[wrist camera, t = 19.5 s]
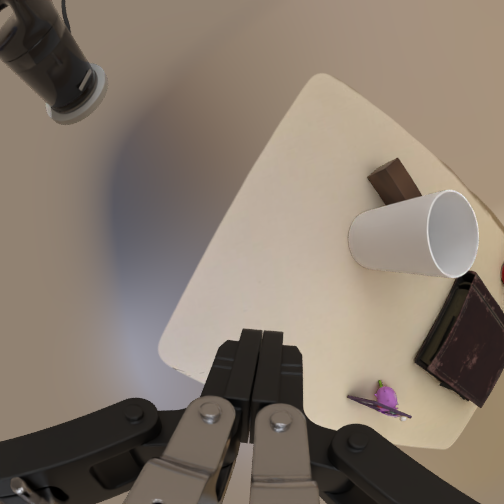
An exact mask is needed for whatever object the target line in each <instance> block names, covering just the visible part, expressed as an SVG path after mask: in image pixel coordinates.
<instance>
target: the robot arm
mask: <svg viewBox="0 0 504 504" xmlns="http://www.w3.org/2000/svg"><path fill="white" fill-rule="evenodd" d="M7 6H10V7H11V8H12V10H13V14H12V15H11V16H10V17H9V18H8V19H7V21H6V22H5V23H4V25H3V26H2V27H1V29H0V59H1V60H2V61H3V62H4V63H5V64H6V65H7V66H8V67H9V68H10V69H11V70H12V71H13V72H14V73H15V74H16V75H18V76H19V77H20V78H21V79H22V80H23V81H24V82H25V83H26V84H27V85H28V86H29V87H30V88H31V89H32V90H33V91H34V92H35V93H37V94H38V95H39V96H40V97H41V98H42V99H43V100H44V101H45V102H46V103H47V104H48V105H49V106H51V108H52V109H53V110H54V111H55V112H56V113H59V114H68V113H71V112H74V111H76V110H77V109H79V108H80V107H82V106H83V105H84V104H85V103H86V102H87V101H88V100H89V99H90V98H91V97H92V95H93V94H94V92H95V90H96V88H97V84H98V76H97V74H96V72H95V70H94V69H93V68H92V67H91V65H90V64H89V62H88V60H87V59H86V57H85V56H84V54H83V52H82V51H81V49H80V48H79V46H78V44H77V43H76V41H75V40H74V38H73V36H72V35H71V31H70V25H69V21H68V18H67V14H66V7H65V0H62V14H63V19H64V22H63V20H62V19H61V17H60V15H59V14H58V12H57V10H56V8H55V7H54V5H53V2H52V0H0V12H1V11H2V10H3V9H5V8H6V7H7ZM302 365H303V364H302V354H301V353H300V351H299V349H298V348H297V346H287V345H283V332H278V331H266V330H264V333H263V338H262V330H254V329H243V330H242V333H241V336H240V340H239V341H232V340H227V341H226V342H225V343H224V344H222V345H221V346H220V347H219V349H218V351H217V354H216V356H215V359H214V362H213V364H212V367H211V370H210V372H209V375H208V378H207V380H206V383H205V385H204V388H203V391H202V393H201V396H200V398H197V399H195V400H194V401H192V402H191V403H190V404H189V405H188V407H187V408H185V409H181V410H170V411H157V408H156V407H155V405H153V403H151V402H150V401H148V400H145V399H142V398H130V399H126V400H123V401H121V402H119V403H116V404H113V405H111V406H108V407H106V408H103V409H101V410H98V411H96V412H93V413H90V414H87V415H85V416H82V417H79V418H77V419H74V420H71V421H68V422H65V423H62V424H59V425H57V426H53V427H50V428H47V429H44V430H40V431H37V432H34V433H31V434H27V435H24V436H20V437H16V438H13V439H9V440H5V441H1V442H0V504H96V503H99V502H102V501H104V500H107V499H110V498H112V497H115V496H117V495H120V494H122V493H124V492H127V491H129V490H130V492H129V493H128V495H127V497H126V499H125V501H124V502H123V504H222V502H223V499H224V496H225V493H226V490H227V487H228V484H229V481H230V478H231V475H232V472H233V469H234V466H235V463H236V458H237V455H238V451H239V446H240V442H242V443H247V442H248V437H249V432H250V443H251V444H254V447H253V460H252V474H251V488H250V503H249V504H320V500H319V496H320V497H321V498H322V499H323V500H324V501H325V502H326V503H327V504H480V503H478V502H477V501H475V500H474V499H472V498H470V497H469V496H467V495H465V494H464V493H462V492H461V491H459V490H457V489H456V488H455V487H453V486H452V485H450V484H448V483H447V482H445V481H444V480H442V479H441V478H439V477H438V476H437V475H435V474H434V473H432V472H431V471H429V470H428V469H426V468H425V467H424V466H422V465H421V464H419V463H418V462H417V461H415V460H414V459H412V458H411V457H409V456H408V455H407V454H405V453H404V452H403V451H401V450H400V449H399V448H397V447H396V446H395V445H393V444H392V443H391V442H389V441H388V440H387V439H385V438H384V437H383V436H381V435H380V434H379V433H378V432H376V431H375V430H374V429H372V428H371V427H368V426H366V425H362V424H350V425H346V426H343V427H342V428H340V429H339V430H337V431H336V430H332V429H328V428H324V427H321V426H319V425H316V424H315V423H313V422H312V421H311V420H309V419H308V417H307V416H306V415H305V413H304V410H303V367H302Z"/></svg>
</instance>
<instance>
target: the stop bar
mask: <svg viewBox="0 0 504 504" xmlns="http://www.w3.org/2000/svg"><path fill="white" fill-rule="evenodd" d="M367 178H368V179H369V181H370V182H371V183H372V185H373V186H374V188H375V189H376V191H377V192H378V194H379V195H380V197H381V198H382V200H383V201H384V203H385V204H386V206H387V205H390V204H394V203H398V202H402V201H405V200H409V199H413V198H417V197H420V196H422V195H421V193H420V191H419V190H418V188H417V186H416V185H415V183H414V182H413V180H412V178H411V177H410V175H409V174H408V172H407V171H406V169H405V168H404V166H403V164H402V163H401V162H400V160H399V159H398V158H396V159H394V160H392V161H390V162H388V163H386V164H384V165H382V166H380V167H379V168H377V169H376V170H375V171H374V172H373V173H371V174H370V175H369V176H368V177H367Z"/></svg>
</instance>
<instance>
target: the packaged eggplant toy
mask: <svg viewBox="0 0 504 504" xmlns="http://www.w3.org/2000/svg"><path fill="white" fill-rule="evenodd" d="M378 382H379V386H380V388H379V390H378V391H377V394H374V395H375V396H376V397H377V401H378V402H377V401H372V400H367V399H363V398H358V397H354V396H349V395H348V396H347V398H349V399H351V400H354V401H356V402H358V403H360V404H363V405H365V406H368V407H370V408H373V409H375V410H377V411H379V412H381V413H383V414H385V413H387V414H386V415H387V416H389V415H390V414H391V415H390V416H391V417H393V416H397V417H400V420H401V421H405V420H407V418H411V417H412V416H410V415H408V414H405V413H403V412H400V411H398V410H396V409H398V408H396V407H395V406H396V405H399V404H398V403H397V396H396V393H395V392H394V390H393V389H392V388H390V387H387V386H383V384H382V382H381V380H379V381H378ZM377 407H378V408H377ZM379 408H380V409H379ZM392 411H393V412H392ZM397 417H395V418H397Z"/></svg>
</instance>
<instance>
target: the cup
mask: <svg viewBox="0 0 504 504" xmlns="http://www.w3.org/2000/svg"><path fill="white" fill-rule="evenodd" d="M348 243H349V248H350V251H351V254H352V256H353V257H354V259H355V260H356V262H357V263H358V264H360V265H361V266H363V267H364V268H367V269H372V270H381V271H390V272H399V273H408V274H418V275H427V276H436V277H446V278H457V277H460V276H462V275H464V274H465V273H466V272H467V271H468V270H469V269H470V268H471V266H472V264H473V263H474V260H475V258H476V255H477V251H478V244H479V231H478V224H477V219H476V216H475V213H474V211H473V209H472V207H471V205H470V203H469V202H468V200H467V199H466V198H465V197H464V196H463V195H462V194H460V193H459V192H457V191H454V190H443V191H439V192H435V193H432V194H428V195H424V196H420V197H417V198H413V199H409V200H405V201H402V202H398V203H394V204H390V205H387V206H383V207H379V208H376V209H372V210H368V211H365V212H363V213H361V214H359V215H358V216H357V217H356V218H355V219H354V221H353V222H352V224H351V227H350V230H349V235H348Z"/></svg>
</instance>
